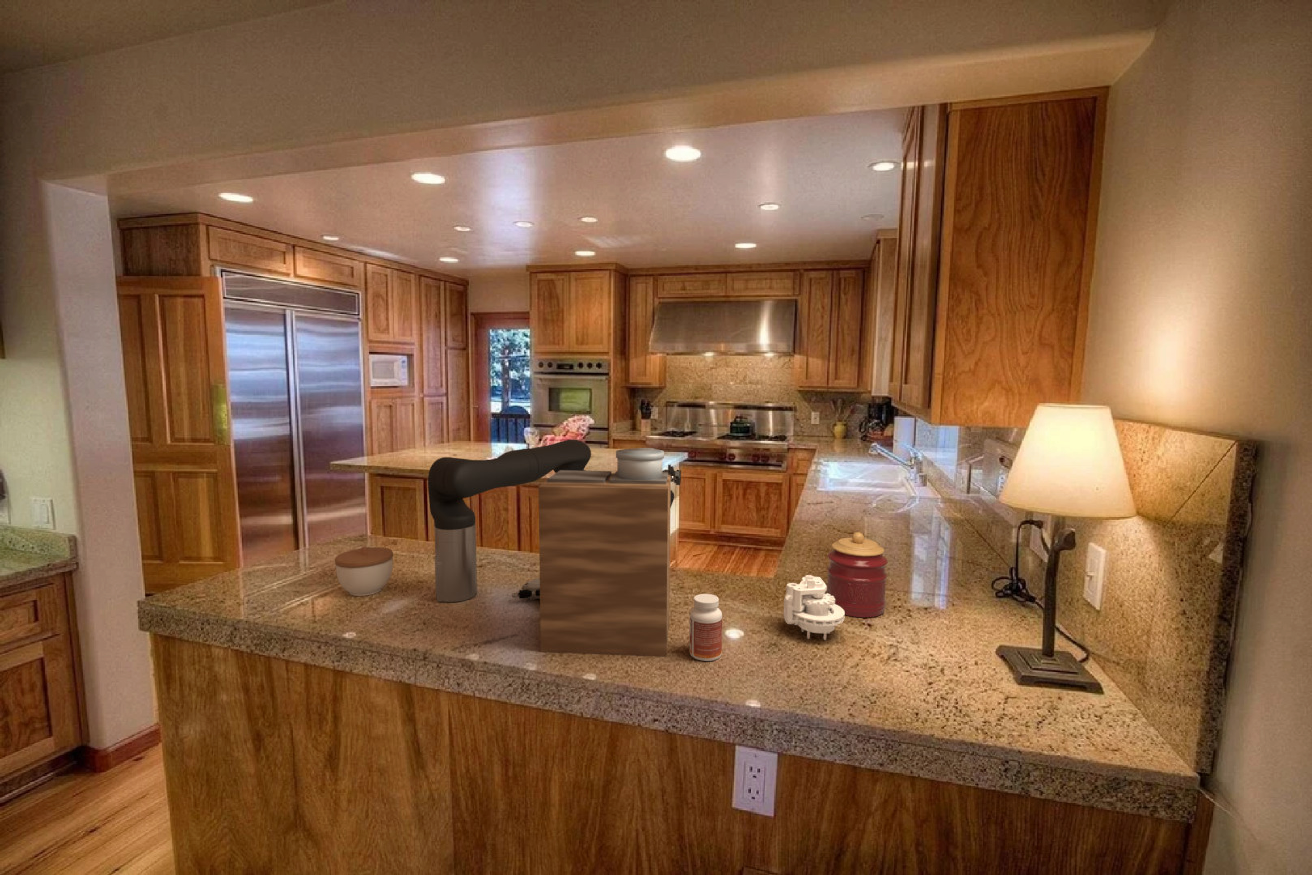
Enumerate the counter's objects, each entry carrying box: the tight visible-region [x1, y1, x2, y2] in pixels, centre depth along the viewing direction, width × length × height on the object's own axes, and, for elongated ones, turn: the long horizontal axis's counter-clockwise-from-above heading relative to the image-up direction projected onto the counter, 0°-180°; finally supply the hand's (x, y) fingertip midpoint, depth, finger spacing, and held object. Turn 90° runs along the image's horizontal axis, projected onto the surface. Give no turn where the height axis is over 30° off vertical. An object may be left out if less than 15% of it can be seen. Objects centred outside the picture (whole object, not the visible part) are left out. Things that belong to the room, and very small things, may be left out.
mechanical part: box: [783, 574, 846, 641], centre depth 117 cm, size 11×12×12 cm
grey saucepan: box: [615, 447, 665, 480], centre depth 121 cm, size 23×10×5 cm, turn 177°
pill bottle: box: [688, 593, 723, 662], centre depth 108 cm, size 6×6×11 cm
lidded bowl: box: [334, 545, 394, 597], centre depth 139 cm, size 13×13×11 cm
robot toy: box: [511, 577, 540, 600], centre depth 135 cm, size 12×4×15 cm
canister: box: [825, 531, 889, 618], centre depth 131 cm, size 13×13×18 cm
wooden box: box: [538, 470, 672, 657], centre depth 115 cm, size 16×24×33 cm, turn 87°
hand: (653, 467), depth 149 cm, fingers open, 8 cm apart
